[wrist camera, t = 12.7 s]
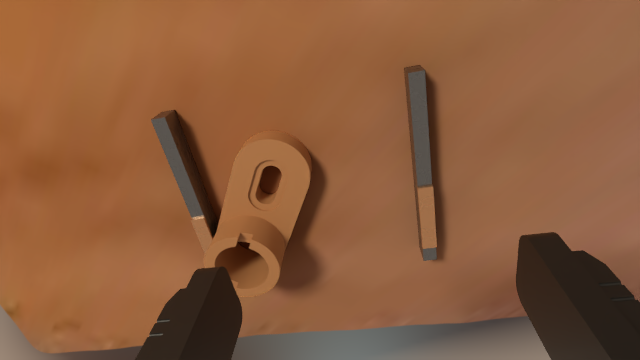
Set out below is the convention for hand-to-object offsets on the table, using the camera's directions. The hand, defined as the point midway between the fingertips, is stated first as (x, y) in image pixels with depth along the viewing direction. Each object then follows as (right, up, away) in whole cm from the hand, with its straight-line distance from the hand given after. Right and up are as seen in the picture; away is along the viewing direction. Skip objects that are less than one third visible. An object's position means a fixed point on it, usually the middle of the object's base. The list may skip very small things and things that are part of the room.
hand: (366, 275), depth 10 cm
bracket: (-8, 0, +34) cm, 35 cm away
